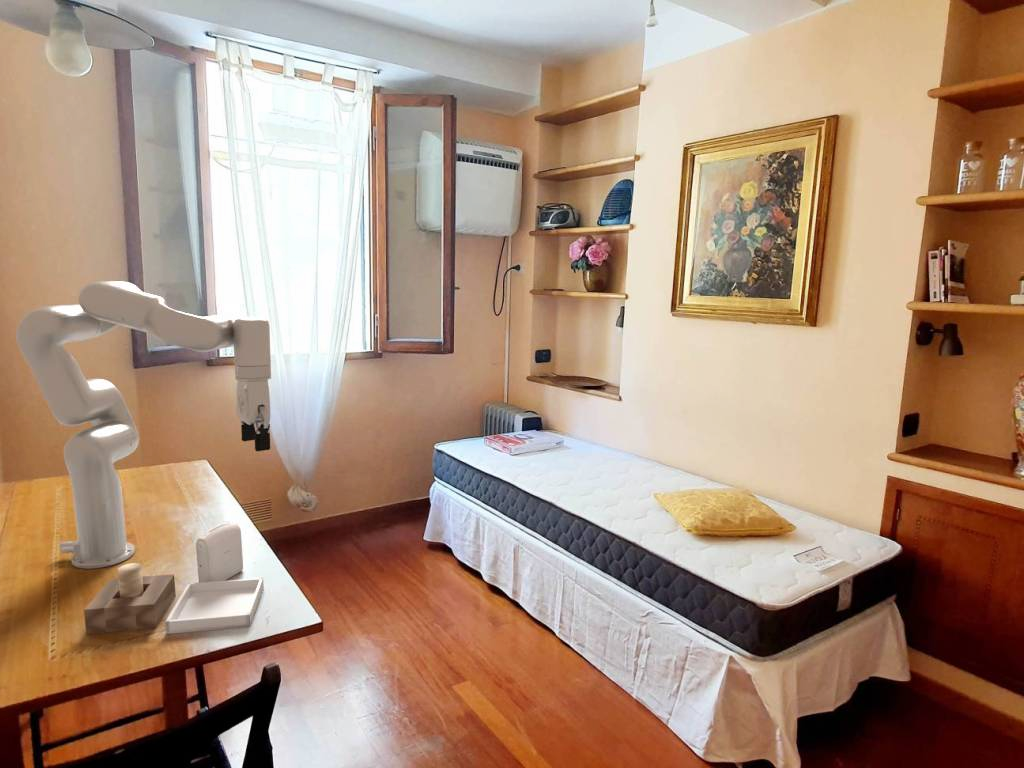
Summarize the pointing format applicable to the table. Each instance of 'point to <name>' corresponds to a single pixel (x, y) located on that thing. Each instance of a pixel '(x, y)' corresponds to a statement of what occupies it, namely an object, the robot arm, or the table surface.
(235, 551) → the photo printer
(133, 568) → the dowel
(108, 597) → the holder
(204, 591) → the tray
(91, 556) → the robot arm
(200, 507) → the table surface
